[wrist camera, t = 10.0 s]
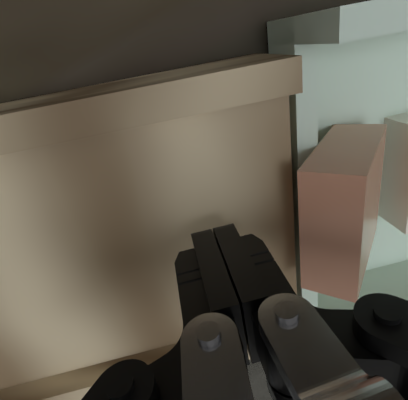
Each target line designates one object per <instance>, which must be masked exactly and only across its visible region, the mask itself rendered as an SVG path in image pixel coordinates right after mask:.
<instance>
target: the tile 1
mask: <svg viewBox="0 0 408 400" xmlns="http://www.w3.org/2000/svg"><path fill="white" fill-rule="evenodd" d="M386 131H387V124H334V125H333V126H332V127H331V129H330V130H329V131H328V133H327V134H326V135H325V136H324V138H323V139H322V140H321V141H320V143H319V144H318V145H317V146H316V148H315V149H314V150H313V152H312V153H311V154H310V155H309V157H308V158H307V159H306V160H305V162H304V163H303V164H302V165H301V167H300V168H299V169H298V170H297V184H298V214H299V244H300V273H301V288H303V289H307V290H310V291H314V292H318V293H321V294H325V295H329V296H332V297H336V298H339V299H343V300H347V301H350V302H354V303H356V301H357V300H358V297H359V293H360V290H361V286H362V282H363V278H364V274H365V271H366V267H367V263H368V259H369V255H370V251H371V248H372V244H373V240H374V236H375V232H376V229H377V219H378V209H379V199H380V189H381V180H382V170H383V160H384V150H385V140H386Z"/></svg>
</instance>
